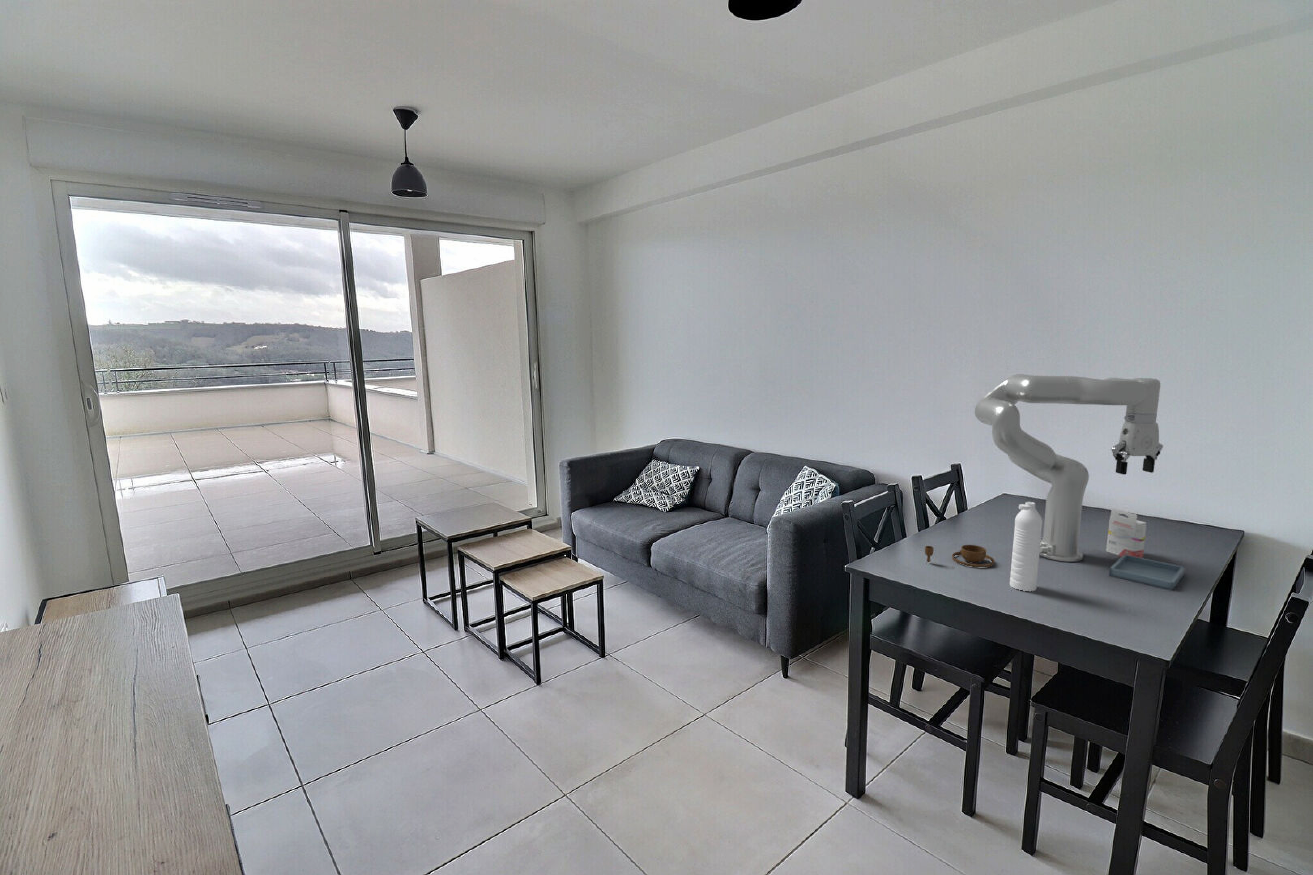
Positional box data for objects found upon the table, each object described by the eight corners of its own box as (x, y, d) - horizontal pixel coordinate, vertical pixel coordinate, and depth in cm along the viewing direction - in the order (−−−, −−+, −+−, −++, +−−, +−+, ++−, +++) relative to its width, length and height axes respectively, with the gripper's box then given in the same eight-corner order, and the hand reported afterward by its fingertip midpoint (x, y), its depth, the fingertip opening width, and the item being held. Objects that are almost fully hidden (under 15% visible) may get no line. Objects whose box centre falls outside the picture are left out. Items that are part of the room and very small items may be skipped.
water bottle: (1014, 580, 177) (1022, 497, 173) (1039, 587, 172) (1047, 502, 168) (1002, 589, 172) (1009, 503, 167) (1027, 596, 167) (1035, 508, 163)
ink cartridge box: (1143, 558, 192) (1149, 513, 189) (1132, 560, 190) (1137, 515, 188) (1116, 549, 200) (1121, 506, 197) (1105, 551, 198) (1110, 507, 196)
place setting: (995, 576, 182) (997, 557, 181) (923, 566, 191) (924, 548, 190) (992, 556, 198) (993, 539, 197) (925, 548, 206) (926, 531, 205)
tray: (1172, 590, 169) (1173, 583, 168) (1108, 575, 179) (1109, 568, 179) (1184, 574, 179) (1185, 567, 179) (1123, 560, 190) (1124, 554, 190)
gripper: (1127, 421, 182) (1121, 477, 185) (1176, 418, 185) (1169, 473, 188) (1105, 418, 190) (1099, 471, 193) (1153, 415, 192) (1147, 468, 195)
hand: (1134, 472), depth 190 cm, fingers open, 9 cm apart
